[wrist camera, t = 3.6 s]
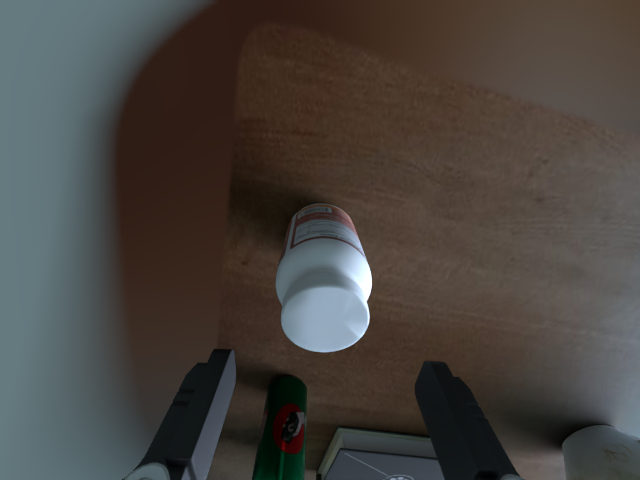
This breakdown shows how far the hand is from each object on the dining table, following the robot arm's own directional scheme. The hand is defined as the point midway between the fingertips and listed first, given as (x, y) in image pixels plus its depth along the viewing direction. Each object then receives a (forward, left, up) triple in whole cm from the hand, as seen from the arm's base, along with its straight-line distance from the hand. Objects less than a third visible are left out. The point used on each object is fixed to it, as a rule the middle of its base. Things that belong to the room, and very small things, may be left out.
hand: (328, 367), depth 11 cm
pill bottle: (0, 0, -14) cm, 14 cm away
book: (+33, -27, -14) cm, 45 cm away
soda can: (+9, -21, -14) cm, 26 cm away
